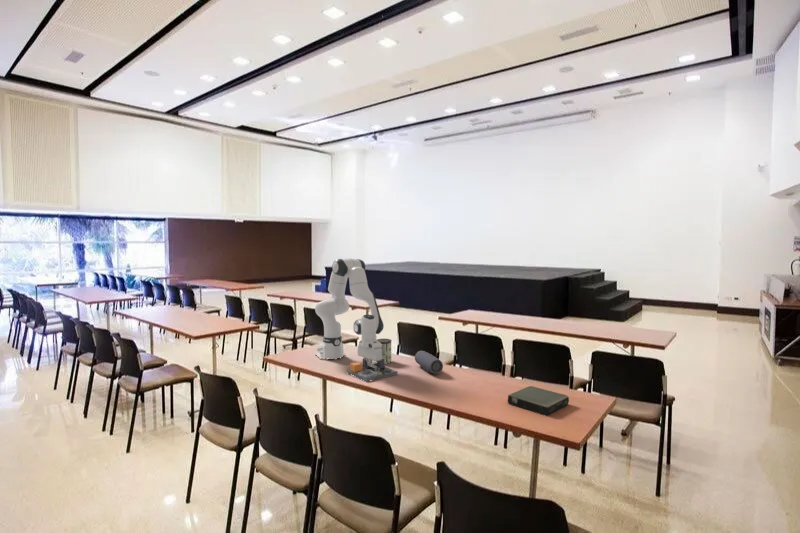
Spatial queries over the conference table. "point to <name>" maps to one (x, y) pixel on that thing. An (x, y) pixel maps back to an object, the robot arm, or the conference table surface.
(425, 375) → the conference table surface
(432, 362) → the bluetooth speaker
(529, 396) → the network switch
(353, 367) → the orange block
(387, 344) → the coffee can
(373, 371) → the panel
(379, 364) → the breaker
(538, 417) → the conference table surface
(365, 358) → the block
